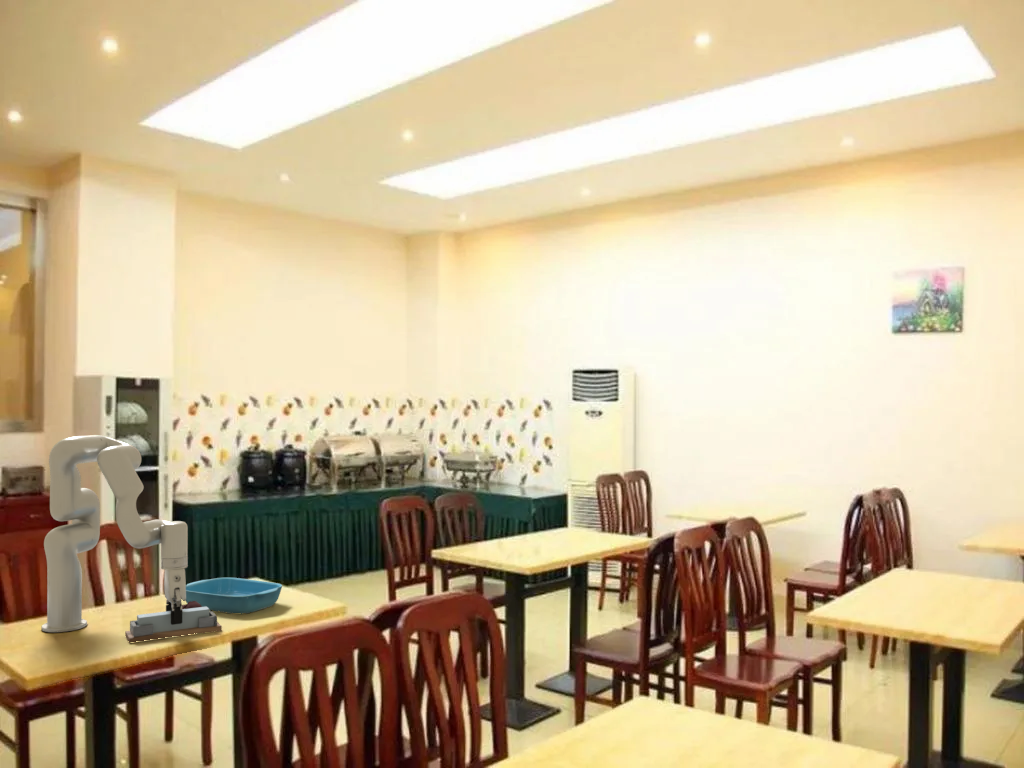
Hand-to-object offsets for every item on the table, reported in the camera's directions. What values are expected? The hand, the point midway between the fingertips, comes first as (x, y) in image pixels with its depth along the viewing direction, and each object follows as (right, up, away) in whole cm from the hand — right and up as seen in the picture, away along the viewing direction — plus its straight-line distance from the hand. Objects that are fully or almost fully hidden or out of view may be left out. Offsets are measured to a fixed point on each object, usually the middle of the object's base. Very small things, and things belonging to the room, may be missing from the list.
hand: (174, 620), depth 259 cm
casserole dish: (+6, -5, +35) cm, 36 cm away
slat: (0, -2, 0) cm, 2 cm away
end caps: (0, -2, 0) cm, 2 cm away
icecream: (0, -4, +13) cm, 14 cm away
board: (0, -4, 0) cm, 4 cm away
